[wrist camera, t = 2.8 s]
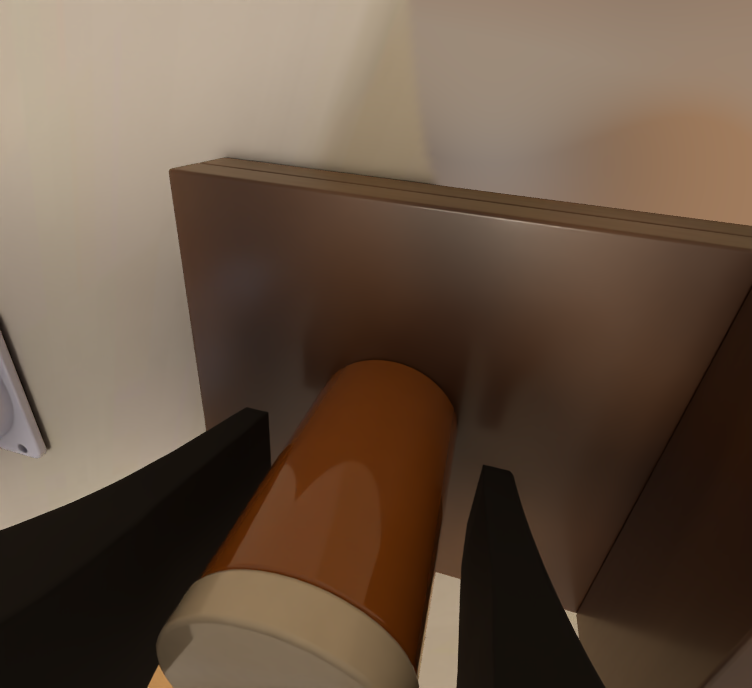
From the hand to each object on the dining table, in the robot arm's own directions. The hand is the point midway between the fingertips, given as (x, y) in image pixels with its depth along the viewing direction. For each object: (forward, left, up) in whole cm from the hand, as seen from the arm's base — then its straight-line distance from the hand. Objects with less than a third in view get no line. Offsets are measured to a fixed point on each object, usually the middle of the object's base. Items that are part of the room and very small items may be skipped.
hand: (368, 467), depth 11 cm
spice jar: (0, 0, -2) cm, 2 cm away
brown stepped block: (+1, 0, -4) cm, 5 cm away
